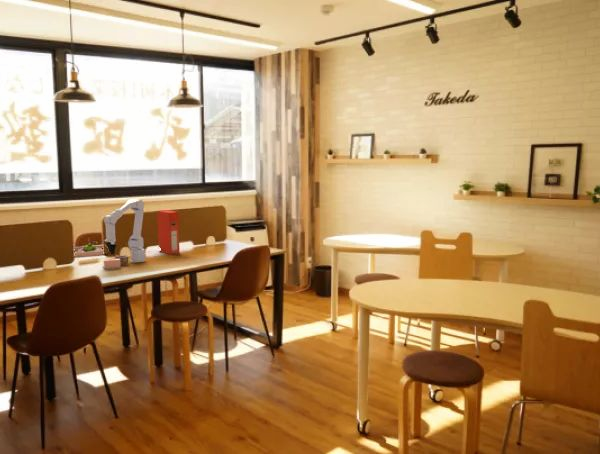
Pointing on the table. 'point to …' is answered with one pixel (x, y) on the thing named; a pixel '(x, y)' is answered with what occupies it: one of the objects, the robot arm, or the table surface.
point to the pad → (112, 268)
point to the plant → (90, 248)
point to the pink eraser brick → (112, 263)
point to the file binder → (168, 231)
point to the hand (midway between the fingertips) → (111, 253)
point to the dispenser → (123, 259)
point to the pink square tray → (88, 252)
